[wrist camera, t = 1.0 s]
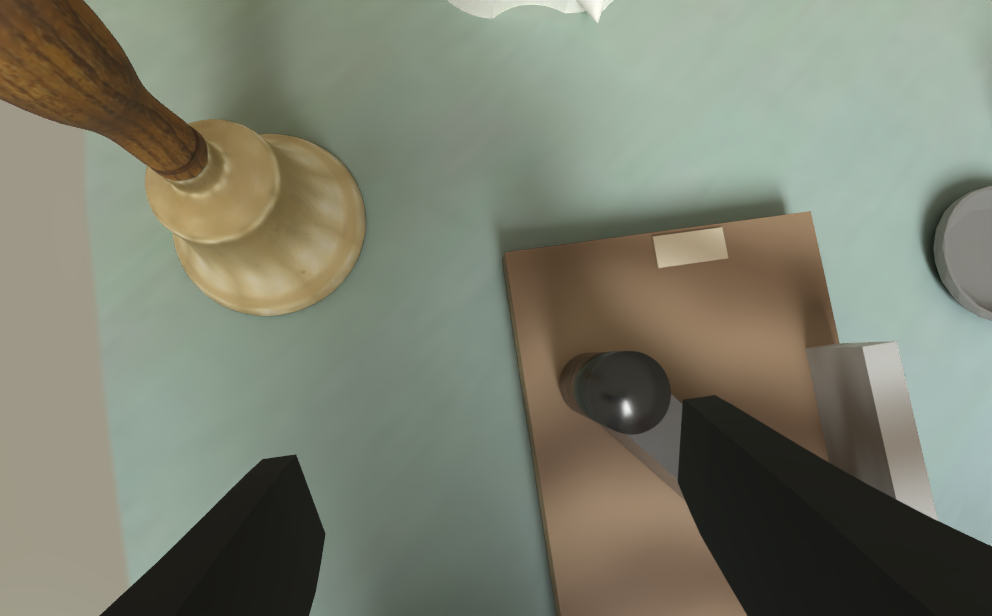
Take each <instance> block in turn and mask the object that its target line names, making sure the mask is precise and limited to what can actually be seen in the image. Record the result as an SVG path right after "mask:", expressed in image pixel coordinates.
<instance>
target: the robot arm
mask: <svg viewBox="0 0 992 616" xmlns="http://www.w3.org/2000/svg"><path fill="white" fill-rule="evenodd" d="M678 485H679V487H680V489H681V492H682V494H683V497H684V499H685V501H686V504H687V506H688V508H689V511H690V513H691V515H692V517H693V520H694V522H695V524H696V526H697V528H698V531H699V533H700V535H701V537H702V538H703V540H704V542H705V544H706V546H707V547H708V549H709V551H710V553H711V554H712V556H713V558H714V560H715V561H716V563H717V565H718V566H719V568H720V570H721V572H722V573H723V575H724V577H725V579H726V580H727V582H728V584H729V585H730V587H731V589H732V590H733V592H734V594H735V596H736V597H737V599H738V601H739V602H740V604H741V606H742V608H743V609H744V611H745V613H746V614H747V616H992V546H990V545H987V544H985V543H983V542H981V541H979V540H977V539H975V538H972V537H970V536H968V535H966V534H964V533H962V532H960V531H958V530H955V529H953V528H951V527H949V526H947V525H945V524H943V523H941V522H939V521H937V520H935V519H933V518H931V517H929V516H927V515H925V514H923V513H921V512H919V511H917V510H915V509H913V508H912V507H910V506H908V505H906V504H904V503H902V502H900V501H898V500H896V499H895V498H893V497H891V496H889V495H887V494H885V493H883V492H881V491H879V490H878V489H876V488H874V487H872V486H870V485H868V484H866V483H865V482H863V481H861V480H859V479H857V478H856V477H854V476H852V475H850V474H848V473H847V472H845V471H843V470H841V469H840V468H838V467H836V466H834V465H833V464H831V463H829V462H827V461H826V460H824V459H822V458H820V457H819V456H817V455H815V454H814V453H812V452H810V451H808V450H807V449H805V448H803V447H802V446H800V445H798V444H797V443H795V442H793V441H792V440H790V439H788V438H787V437H785V436H783V435H782V434H780V433H778V432H777V431H775V430H773V429H772V428H770V427H768V426H767V425H765V424H763V423H762V422H760V421H758V420H757V419H755V418H753V417H752V416H750V415H749V414H747V413H745V412H744V411H742V410H740V409H739V408H737V407H735V406H733V405H732V404H730V403H728V402H727V401H725V400H723V399H721V398H719V397H717V396H716V395H712V396H705V397H698V398H691V399H684V400H683V403H682V419H681V435H680V450H679V466H678ZM324 539H325V532H324V529H323V526H322V523H321V521H320V518H319V515H318V513H317V510H316V507H315V504H314V502H313V499H312V496H311V494H310V491H309V488H308V486H307V483H306V480H305V477H304V475H303V472H302V469H301V467H300V464H299V461H298V458H297V456H296V455H289V456H282V457H275V458H268V459H262V460H261V461H260V462H259V463H258V464H257V465H256V466H255V467H254V468H253V469H251V470H250V471H249V472H248V473H247V474H246V475H245V476H244V477H243V478H242V479H241V480H240V481H239V482H238V483H237V484H236V485H235V486H234V487H233V488H232V489H231V490H230V491H229V492H228V493H227V494H226V495H225V496H224V497H223V498H222V499H221V500H220V501H219V502H218V503H217V504H216V505H215V506H214V507H213V508H212V509H211V510H210V511H209V512H208V513H207V514H206V515H205V516H204V517H203V518H202V519H201V520H200V521H199V522H198V523H197V524H196V525H195V526H194V527H193V528H192V529H191V530H190V531H189V532H188V533H187V534H186V535H185V536H184V537H183V538H182V539H180V540H179V541H178V542H177V543H176V544H175V545H174V546H173V547H172V548H171V549H170V550H169V551H168V552H167V553H166V554H165V555H164V556H163V557H162V558H161V559H160V560H159V561H158V562H157V563H156V564H155V565H154V566H153V567H152V568H151V569H149V570H148V571H147V572H146V573H145V574H144V575H143V576H142V577H141V578H140V579H139V580H138V581H136V582H135V583H134V584H133V585H132V586H131V587H130V588H129V589H128V590H127V591H126V592H125V593H123V595H121V596H120V597H119V598H118V599H117V600H116V601H115V602H114V603H113V604H112V605H111V606H109V607H108V608H107V609H106V610H105V611H104V612H103V613H102V614H101V615H100V616H309V613H310V610H311V606H312V603H313V599H314V596H315V592H316V587H317V581H318V576H319V570H320V565H321V559H322V552H323V546H324Z"/></svg>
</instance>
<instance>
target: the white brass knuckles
mask: <svg viewBox="0 0 992 616" xmlns="http://www.w3.org/2000/svg"><path fill="white" fill-rule="evenodd" d="M447 1H449V2H450V3H451V4H452V5H454V6H455V7H457V8H458V9H460V10H462V11H464V12H466V13H469V14H471V15H475V16H478V17H483V18H494V17H496V16H497V15H499V14H500V13H502V12H504V11H506V10H508V9H510V8H513V7H516V6H521V5H543V6H548V7H551V8H554V9H557V10H559V11H561V12H563V13H574V12H587V13H588V14H589V15H590V16H591V17H592V18H593V19H594V20H595V21H596V22H597V24H598V21H599V18H600V15H601V12H602V10H604V9H605V8H606V7H607V6H608V5H609V4H610V3H611V2H612V1H613V0H447Z"/></svg>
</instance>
